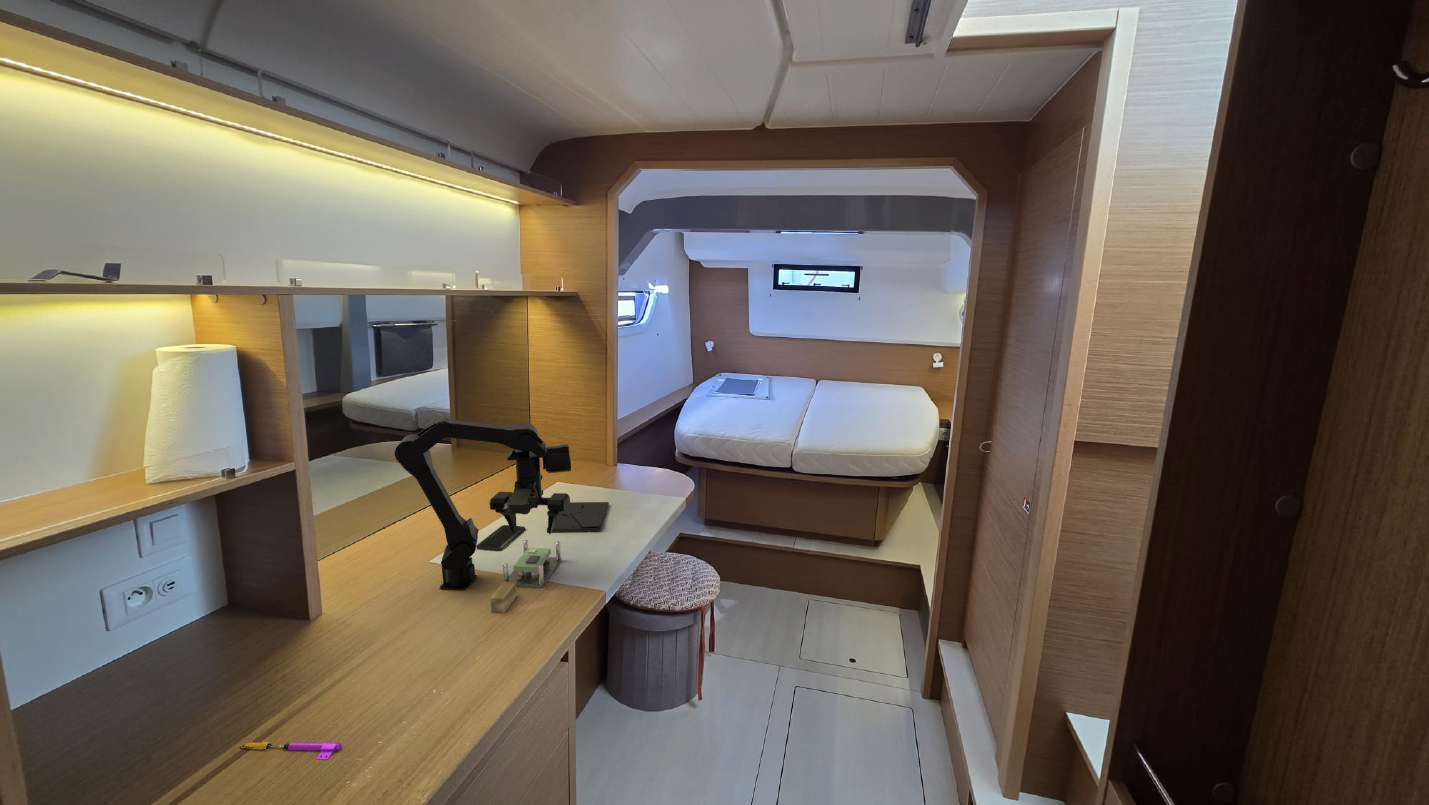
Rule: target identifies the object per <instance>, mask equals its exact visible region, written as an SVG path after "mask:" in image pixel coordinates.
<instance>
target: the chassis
mask: <svg viewBox="0 0 1429 805" xmlns="http://www.w3.org/2000/svg"><path fill="white" fill-rule="evenodd" d="M554 544H555V556H549V557H548V558H547V559H546V561H545V562H544V564H543V565H539V566H538V572H517V571H514V569H513V571H512V572H511V573H510V574H509V564H508V563H503V564H502V574H503V582H516V588H538V589H539V588H544V587H545V586H546V584H547V583H548V581H549V580H550V579H551V577H552V576H553V574H554V572H555V570H556V569H557V568H558V566H559V565H560V564H561V562H562V556H561V552H562V551H561V541H555V542H554ZM522 546H523V553H524V552H525V551H526V550H527V549H528V548H529V540H527V539H525V540H523V541H522Z"/></svg>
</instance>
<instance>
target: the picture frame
mask: <svg viewBox="0 0 1429 805" xmlns="http://www.w3.org/2000/svg"><path fill="white" fill-rule="evenodd" d="M609 503H610V502H608V501H594V502H593V501H592V502H591V501H586V502H585V501H583V502H582V501H581V502H580V501H577V502H576V501H575V502H572V501H570V504H569V505H568V506H567V508H566V509H565V510H564V511H562V512H560V513H559V514H558V515H557V518H556V521H555V524H554V526H553V529H552V532H551V534H554V533H555V534H562V533H563V534H567V533H568V534H571V533H573V534H575V533H576V534H577V533H579V534H580V533H582V534H583V533H584V534H585V533H588V532H589V533H601V530H602V528H603V525H604V524H603V523H604V522H603V521H605V518H606V515H607V513H606V512H608V510H607V509H609V507H608V506H609V505H610V504H609ZM602 524H603V525H602ZM601 527H602V528H601ZM546 534H549V533H548V527H547V528H546Z"/></svg>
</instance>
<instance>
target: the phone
mask: <svg viewBox="0 0 1429 805" xmlns="http://www.w3.org/2000/svg"><path fill="white" fill-rule="evenodd" d="M524 532H526V526H523V525H522V526H521V525H516V532H515V533H513V532H512V530H511V528H510V526H509V524H502V525H501V526H500V527H498V528H497V529H495V530H494V531H493V532H492V533H490V534H489V535H488V536H487V537H486V538H484V539H483V540H481V541H480V542H479V543H477V545H476V550H477V551H478V550H481V551H488V552H489V551H490V552H501V551H504V549H506V548H507V547H509V545H511V543H513V542H514V541H515V540H516V539H517V538H518V537H519V536H521V535H522V534H523V533H524Z"/></svg>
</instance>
